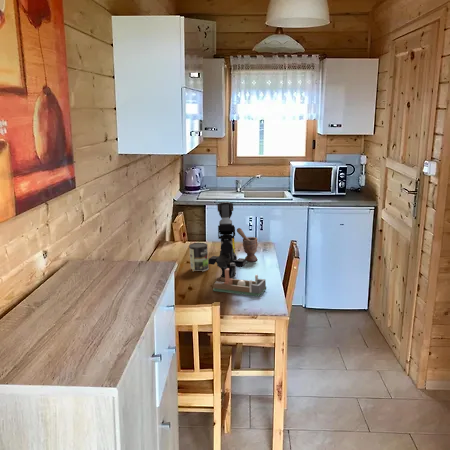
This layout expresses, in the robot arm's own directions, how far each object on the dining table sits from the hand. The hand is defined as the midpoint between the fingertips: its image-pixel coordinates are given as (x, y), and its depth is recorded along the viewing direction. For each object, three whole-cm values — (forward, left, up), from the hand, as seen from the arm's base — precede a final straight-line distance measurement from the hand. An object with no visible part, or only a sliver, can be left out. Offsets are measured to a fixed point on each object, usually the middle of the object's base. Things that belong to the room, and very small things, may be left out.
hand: (228, 277), depth 242 cm
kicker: (-3, 0, -4) cm, 5 cm away
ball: (+7, 0, -2) cm, 7 cm away
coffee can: (-28, +23, -6) cm, 37 cm away
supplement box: (-23, +53, -6) cm, 58 cm away
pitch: (+6, 0, -6) cm, 8 cm away
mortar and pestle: (-7, +45, -6) cm, 46 cm away
